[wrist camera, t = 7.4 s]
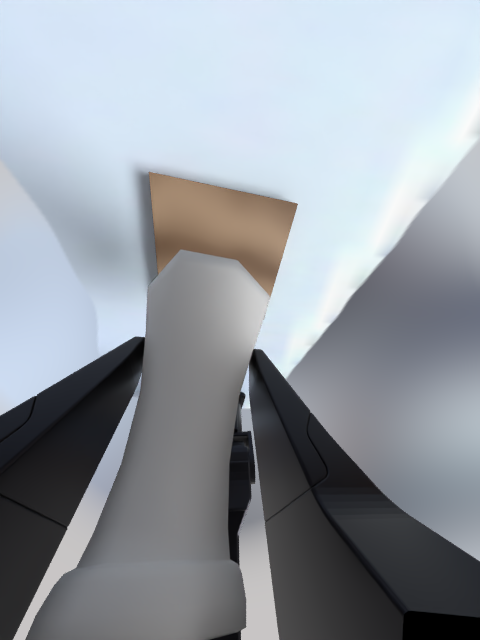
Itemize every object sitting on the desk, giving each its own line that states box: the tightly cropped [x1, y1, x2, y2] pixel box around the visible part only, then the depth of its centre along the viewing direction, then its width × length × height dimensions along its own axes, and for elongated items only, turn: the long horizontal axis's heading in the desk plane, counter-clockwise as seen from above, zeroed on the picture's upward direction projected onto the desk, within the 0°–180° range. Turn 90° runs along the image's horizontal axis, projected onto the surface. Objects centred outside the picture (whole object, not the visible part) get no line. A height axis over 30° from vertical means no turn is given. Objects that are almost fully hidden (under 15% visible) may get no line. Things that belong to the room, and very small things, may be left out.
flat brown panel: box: [149, 172, 298, 320], centre depth 18 cm, size 12×12×2 cm
